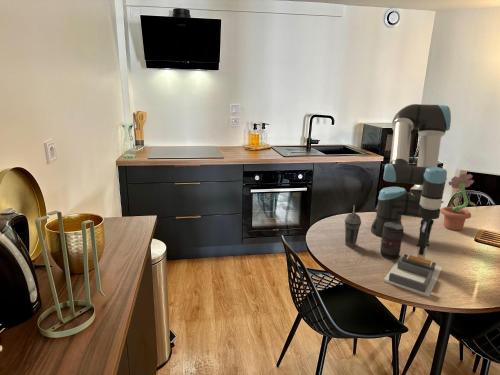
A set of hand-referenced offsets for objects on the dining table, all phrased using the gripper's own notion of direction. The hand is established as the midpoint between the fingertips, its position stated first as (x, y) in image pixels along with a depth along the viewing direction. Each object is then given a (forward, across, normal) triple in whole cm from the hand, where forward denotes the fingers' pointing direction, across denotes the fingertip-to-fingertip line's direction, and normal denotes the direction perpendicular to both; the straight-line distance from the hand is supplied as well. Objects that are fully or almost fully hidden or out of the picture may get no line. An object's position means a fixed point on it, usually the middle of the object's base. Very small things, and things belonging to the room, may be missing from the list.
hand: (420, 260), depth 143 cm
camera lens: (+3, 0, +12) cm, 12 cm away
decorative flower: (+3, +55, -5) cm, 55 cm away
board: (+3, -9, 0) cm, 10 cm away
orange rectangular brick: (+2, -2, 0) cm, 3 cm away
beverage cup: (+3, +1, +30) cm, 30 cm away
